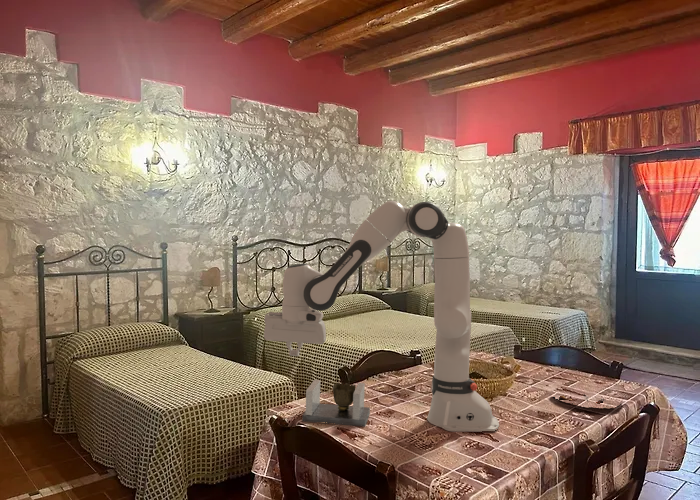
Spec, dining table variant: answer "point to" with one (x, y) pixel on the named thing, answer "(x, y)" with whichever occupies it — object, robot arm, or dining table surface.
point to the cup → (343, 395)
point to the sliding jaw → (312, 397)
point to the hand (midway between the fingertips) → (294, 355)
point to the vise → (332, 414)
